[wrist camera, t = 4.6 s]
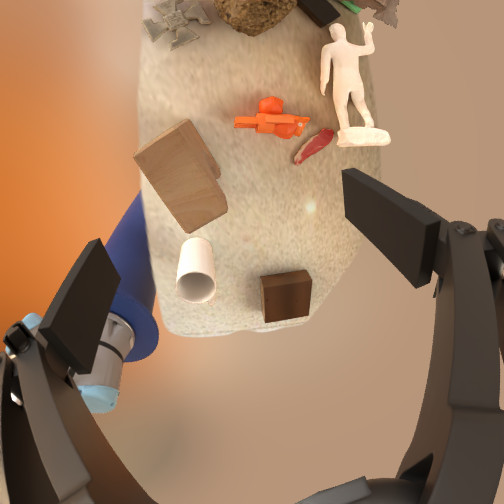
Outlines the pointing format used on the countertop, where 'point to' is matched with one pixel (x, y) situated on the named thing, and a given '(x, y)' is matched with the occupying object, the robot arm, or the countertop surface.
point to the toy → (351, 6)
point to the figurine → (350, 87)
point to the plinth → (285, 295)
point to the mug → (196, 273)
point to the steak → (314, 145)
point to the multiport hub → (319, 11)
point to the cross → (175, 22)
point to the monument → (380, 9)
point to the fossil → (253, 14)
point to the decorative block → (184, 176)
